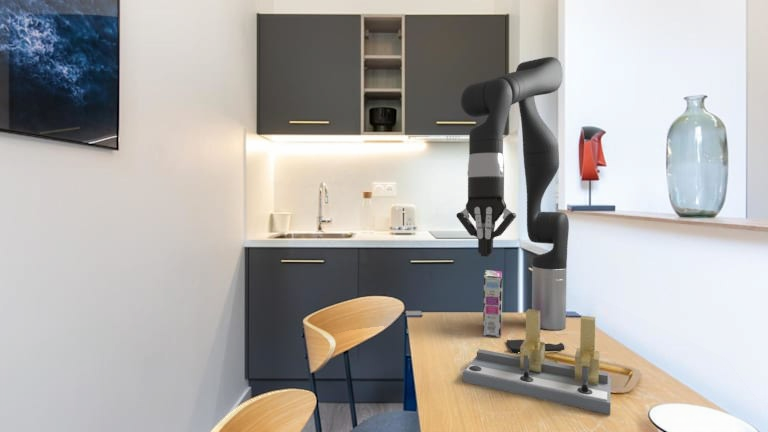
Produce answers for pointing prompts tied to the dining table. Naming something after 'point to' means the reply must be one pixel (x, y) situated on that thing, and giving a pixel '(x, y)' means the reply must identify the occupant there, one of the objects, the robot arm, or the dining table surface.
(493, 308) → the candy bar box
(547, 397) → the board
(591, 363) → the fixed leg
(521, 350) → the slider
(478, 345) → the dining table surface
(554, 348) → the dark sector wedge
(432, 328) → the dining table surface
